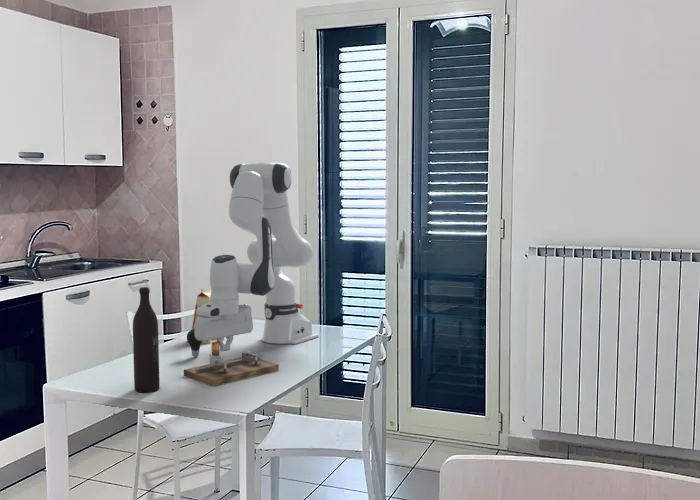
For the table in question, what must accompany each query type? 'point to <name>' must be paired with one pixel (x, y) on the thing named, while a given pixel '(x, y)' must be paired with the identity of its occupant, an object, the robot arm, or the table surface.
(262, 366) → the brown wooden board
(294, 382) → the table surface
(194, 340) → the black light bulb
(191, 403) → the table surface
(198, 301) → the milk carton
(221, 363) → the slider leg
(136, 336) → the wine bottle
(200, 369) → the bar
